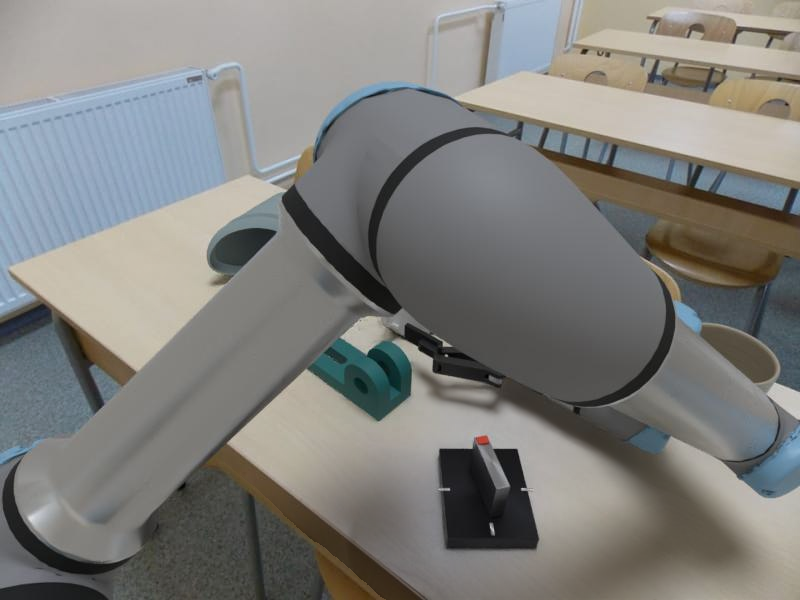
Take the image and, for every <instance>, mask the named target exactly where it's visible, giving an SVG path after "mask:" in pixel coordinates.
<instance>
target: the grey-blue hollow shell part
mask: <svg viewBox="0 0 800 600" xmlns="http://www.w3.org/2000/svg"><path fill="white" fill-rule="evenodd" d="M285 192H286V191H282V192H278V193H276V194H274V195H272V196H270V197H269V198H267V199H265V200H263V201H262V202H260V203H259V204H256V205H255V206H253V207H251V208H250V209H249V210H247V211H246V212H244V213H243V214H241V215H239V216H237V217H235V218H233V219H231V220H230V221H229V222H228V223H227V224H225V225H224V226H222V227H221V228H220V229H218V230H217V231H216V233H215V234H214V235H213V236H212V238H211V239H210V241H209V242H208V245H207V249H206V260H207V261H206V262H207V265H208V267H209V268H210V269H211V270H212V271H214V272H215V273H218V274H221V275H227V276H234V275H235V274H236V273H237V272H238V271H239V270H240V269H241V268H242V267H243V266H244V265H245V264H246V263H247V262H248V261H249V260H250V259H251V258H252V257H253V256H254V255H255V254H256V253H257V252H258V251H259V250H261V249H262V248H263V247H264V246H265V245H266V244H267V243H268V242H269V241H270V240H271V239H272V238H273V237H274V236H275V235H276V233H277V231H278V228H279V211H278V200H279V199H280V198H281V197H282V196H283V195H284V193H285Z"/></svg>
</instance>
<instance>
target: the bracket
mask: <svg viewBox="0 0 800 600" xmlns="http://www.w3.org/2000/svg"><path fill="white" fill-rule="evenodd" d="M307 370H308V371H310V372H311V373H312V374H314V375H315V376H316V377H318V378H320V379H321V380H322V381H323V382H325V383H326V384H328V385H329V386H330V387H331V388H332V389H334V390H336V391H337V392H338V393H340V394H341V395H342V396H344V397H345V398H347V399H348V400H349V401H351V402H352V403H353V404H355V405H356V406H357V407H359V408H360V410H363V411H364V412H366V414H368V415H369V416H371V417H372V418H374V419H375V420H376V421H378V422H380V421H381V420H382V419H383V418H385V417H386V416H387V415H388V414H390V413H391V412H392V411H393V410H394V409H396V408H397V407H398V406H399V405H400V404H402V403H403V402H405V401H406V400H407V399H409V398H410V397H411V396H412V379H413V368H412V364H411V362H410V359H409V357H408V355H407V354H406V353H405V351H403V349H402V348H401V346H399V345H398V344H396V343H394V342H392V341H389V340H383V341H381V342H379V343H378V344H376V345H374V346H373V347H372V348H370V349H369V350H368V352H367V353H365V352H363V351H362V350H361V349H358V348H357V347H355V346H354V345H353V344H351V343H350V342H348V341H346V340H345V339H343V338H341V337H340V338H339V339H338V340H337V341H336V342H335V343H334V344H332V345H331V346H330V347H329V348H328V349H327V350H326V351H325V352H324V353H323V354H322V355H321V356H320V357H319V358H317V359H316V360H315V361H314V362H313V363H312V364H311V365H310V366H309V367H308V368H307Z"/></svg>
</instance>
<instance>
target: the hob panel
mask: <svg viewBox="0 0 800 600" xmlns="http://www.w3.org/2000/svg"><path fill="white" fill-rule="evenodd" d="M493 450H494V452H495V454H496V456H497V459H498V461H499V463H500V465H501V467H502V469H503V472H504V474H505V476H506V478H507V480H508V482H509V485H510V489H509V493H508V497H507V501H506V505H505V509H504V513H503V515H502V516H497V517H492V518H490V517H489V514H488V512H487V509H486V507H485V504H484V502H483V499H482V497H481V494H480V492H479V489H478V487H477V484H476V482H475V479H474V477H473V474H472V472H471V469H470V467H469V466H470V460H471V454H472V448H443V447H441V448H438V457H437V459H438V471H439V483H440V484H439V485H440V487H438V488H437V492H440V493H441V494H440V495H441V502H442V503H441V506H442V516H443V525H444V526H443V527H444V539H445V548H446V549H447V550H449V549H450V550H451V549H452V550H455V549H456V550H459V549H460V550H462V549H463V550H467V549H468V550H469V549H470V550H474V549H475V550H477V549H479V550H480V549H482V550H483V549H484V550H485V549H487V550H489V549H490V550H493V549H498V550H499V549H501V550H502V549H504V550H505V549H506V550H507V549H508V550H509V549H510V550H511V549H516V550H518V549H519V550H520V549H521V550H522V549H537V547H538V544H539V541H540V537H539V536H540V535H539V532H538V528H537V524H536V520H535V515H534V511H533V508H532V507H533V506H532V504H531V500H530V495H529V492H534V488H533V487H527V483H526V478H525V474H524V469H523V466H522V461H521V457H520V453H519V450H518V448H493Z"/></svg>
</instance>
